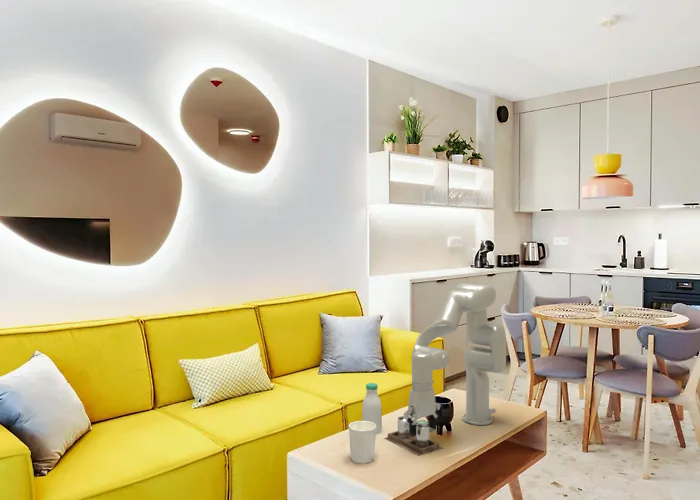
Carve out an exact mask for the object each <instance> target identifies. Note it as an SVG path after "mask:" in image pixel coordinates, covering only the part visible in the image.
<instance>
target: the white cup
mask: <svg viewBox="0 0 700 500" xmlns="http://www.w3.org/2000/svg"><path fill="white" fill-rule="evenodd" d="M348 431H349V434H348V435H349V452H350V460H351V461H352V462H354V463H358V464H368V463H369V464H370V463H372V462H373V461H374V459H375V451H376V435H377V434H376V424H374V423H373V422H369V421H362V420H357V421H352V422H350V423H349V425H348Z"/></svg>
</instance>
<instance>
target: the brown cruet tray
mask: <svg viewBox="0 0 700 500" xmlns="http://www.w3.org/2000/svg"><path fill="white" fill-rule="evenodd" d="M383 439H384V440H386V441H387V442H390V443H392V444H394V445H396V446H398V447H400V448H402V449H404V450H406V451H408V452H409V453H412V454H413V455H416V456H418V457H420V456H424V455H426V454H429V453H432V452H435V451H439V450H442V449H444V448H443V447H441V446H440V444H439V443H438V442H436V441H433V440H431V439H429V446H428V447H424V448H419V447H417V446H415V445H416V435H415V436H414V435H412V434H411V438H407V439H404V440H403V439H401V438H399V437H398V430H396V431H393V432H389V433H387V437H385V438H383Z"/></svg>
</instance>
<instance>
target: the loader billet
mask: <svg viewBox="0 0 700 500" xmlns="http://www.w3.org/2000/svg"><path fill="white" fill-rule="evenodd" d="M397 431H398V437H399V438H401V439H403V440H404V439H407V438H411V434H410V432H409V423H408V422H407V421H406V419H405V417H404V415H402V416H401V415H400V416H397Z"/></svg>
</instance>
